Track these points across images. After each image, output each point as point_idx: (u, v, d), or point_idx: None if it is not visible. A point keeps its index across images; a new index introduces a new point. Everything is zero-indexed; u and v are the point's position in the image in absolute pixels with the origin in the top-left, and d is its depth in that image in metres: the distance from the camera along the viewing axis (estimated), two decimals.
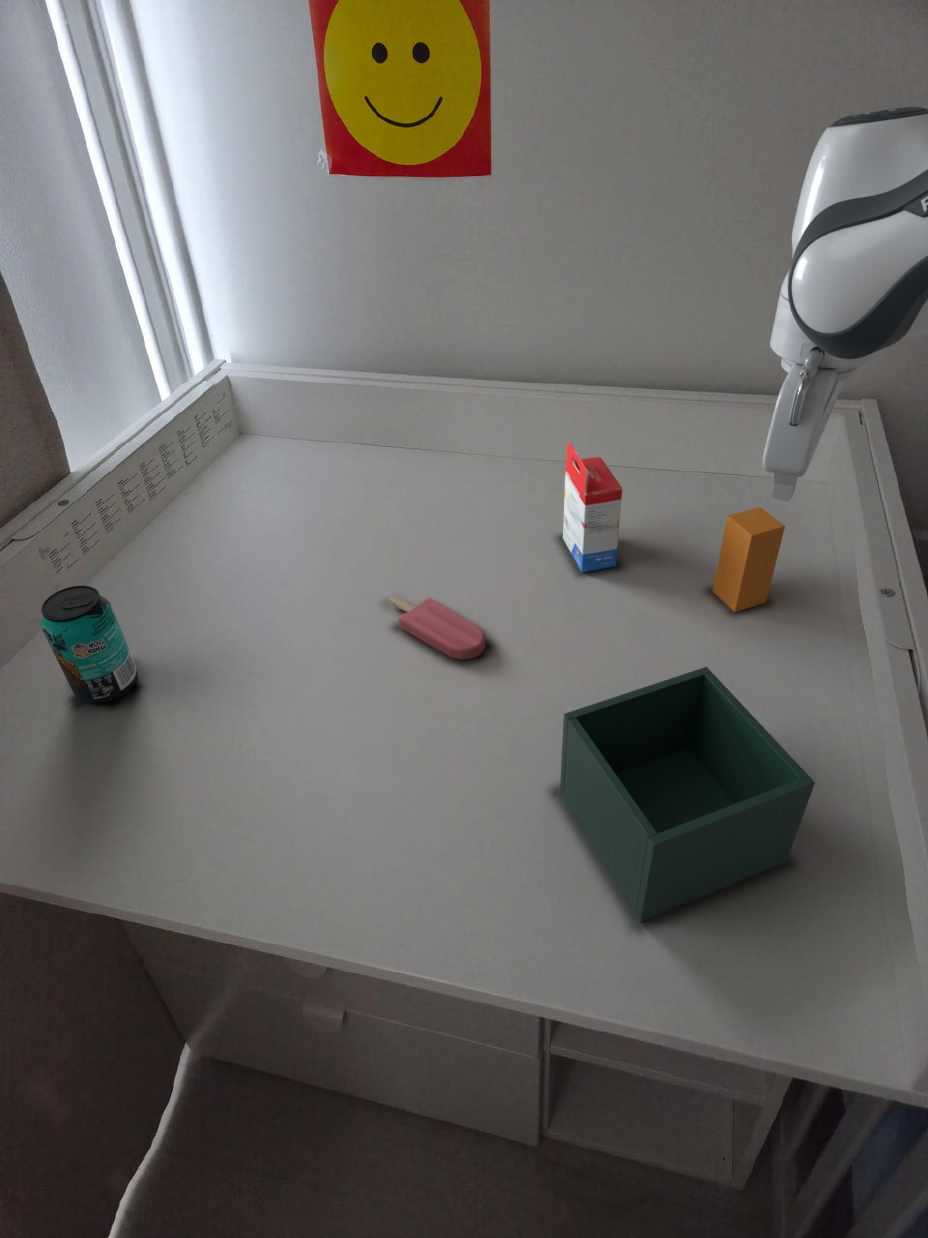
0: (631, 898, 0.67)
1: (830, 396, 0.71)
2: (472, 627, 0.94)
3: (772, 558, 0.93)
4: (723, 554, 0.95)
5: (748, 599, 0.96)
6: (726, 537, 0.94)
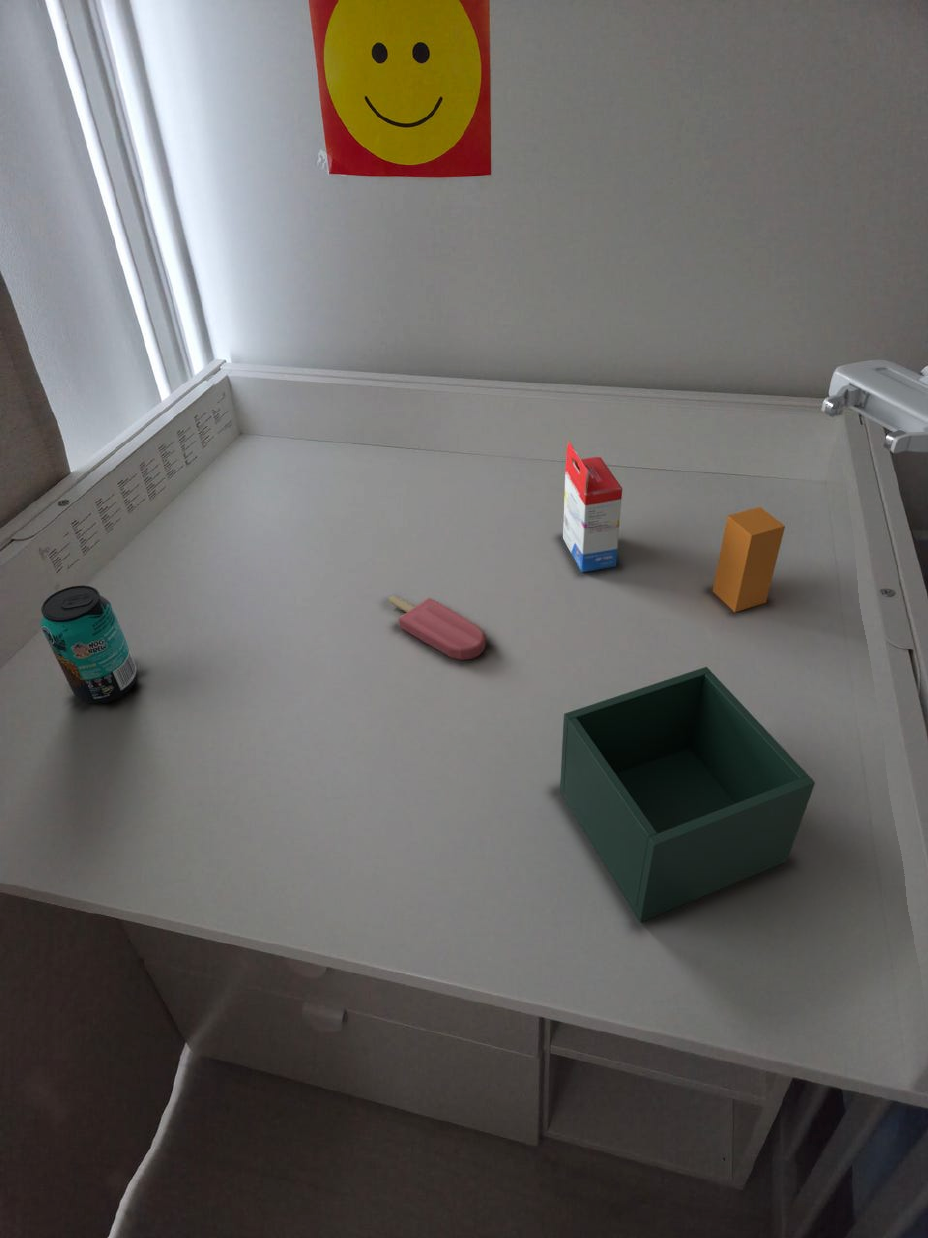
0: (631, 898, 0.67)
1: (913, 389, 0.91)
2: (472, 627, 0.94)
3: (772, 558, 0.93)
4: (723, 554, 0.95)
5: (748, 599, 0.96)
6: (726, 537, 0.94)
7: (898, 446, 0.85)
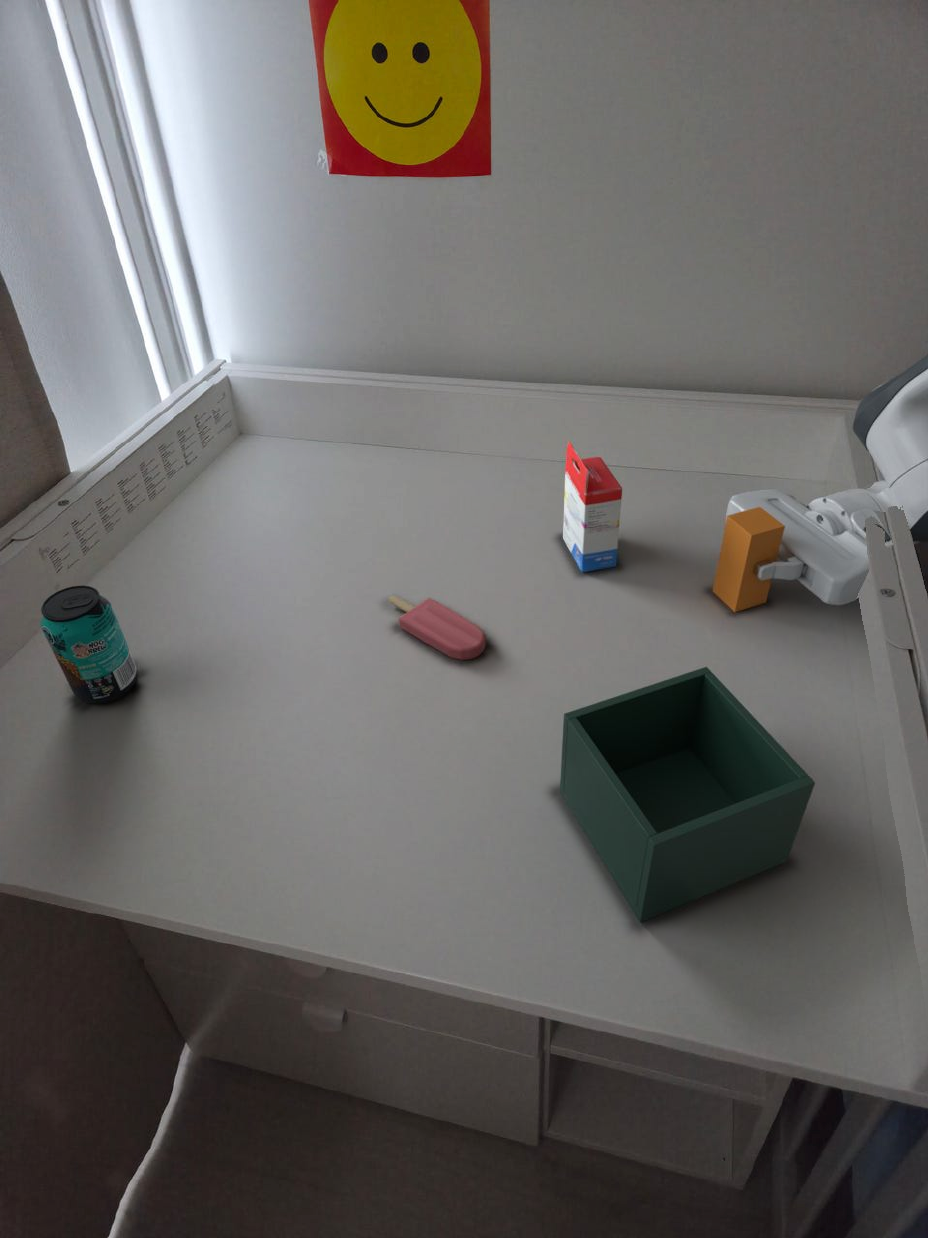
0: (631, 898, 0.67)
1: (798, 524, 0.97)
2: (472, 627, 0.94)
3: (772, 558, 0.93)
4: (723, 554, 0.96)
5: (748, 599, 0.96)
6: (726, 537, 0.94)
7: (764, 574, 0.92)
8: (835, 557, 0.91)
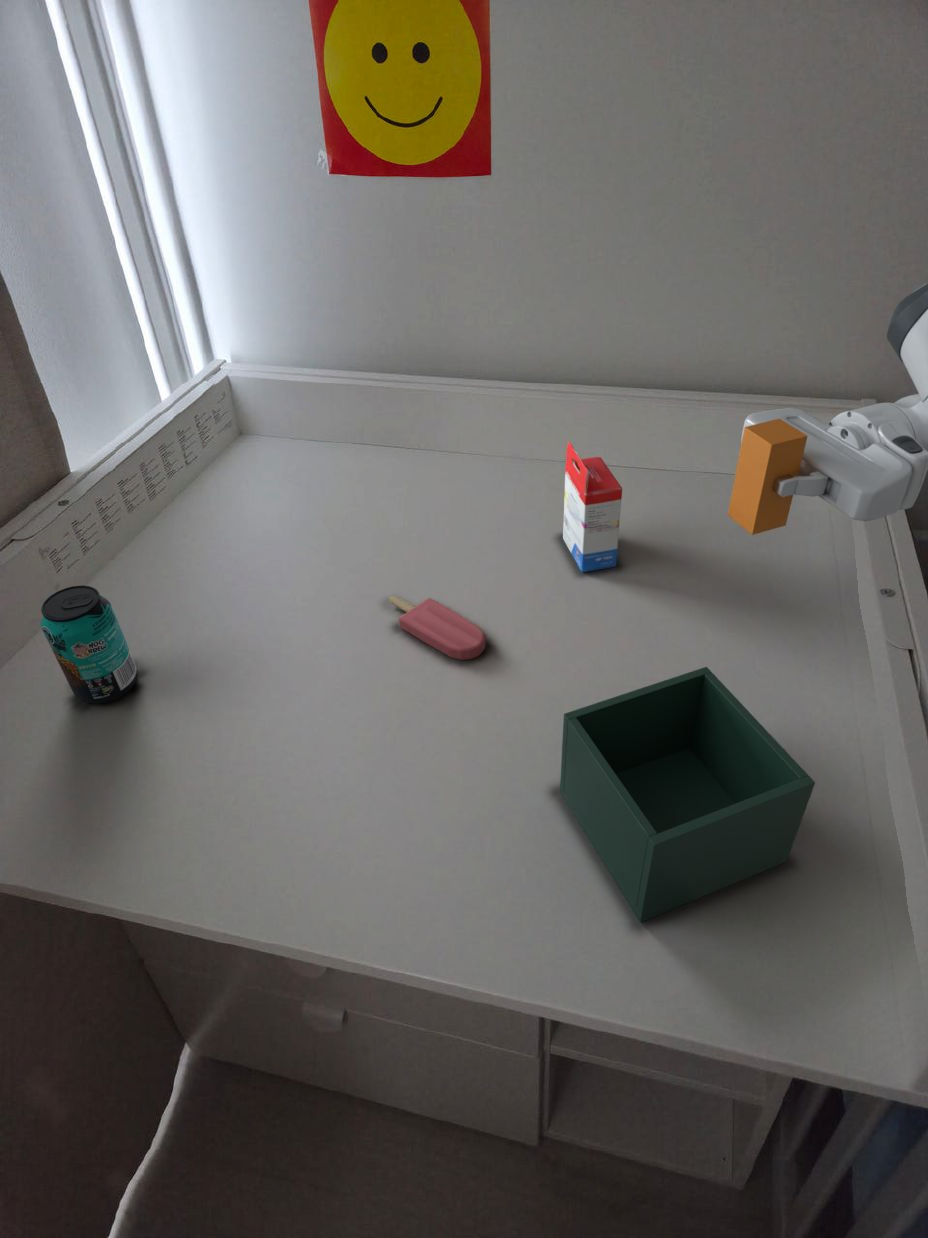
0: (631, 898, 0.67)
1: (820, 439, 0.90)
2: (472, 627, 0.94)
3: (793, 473, 0.86)
4: (740, 472, 0.88)
5: (767, 520, 0.89)
6: (743, 451, 0.87)
7: (785, 490, 0.85)
8: (862, 470, 0.84)
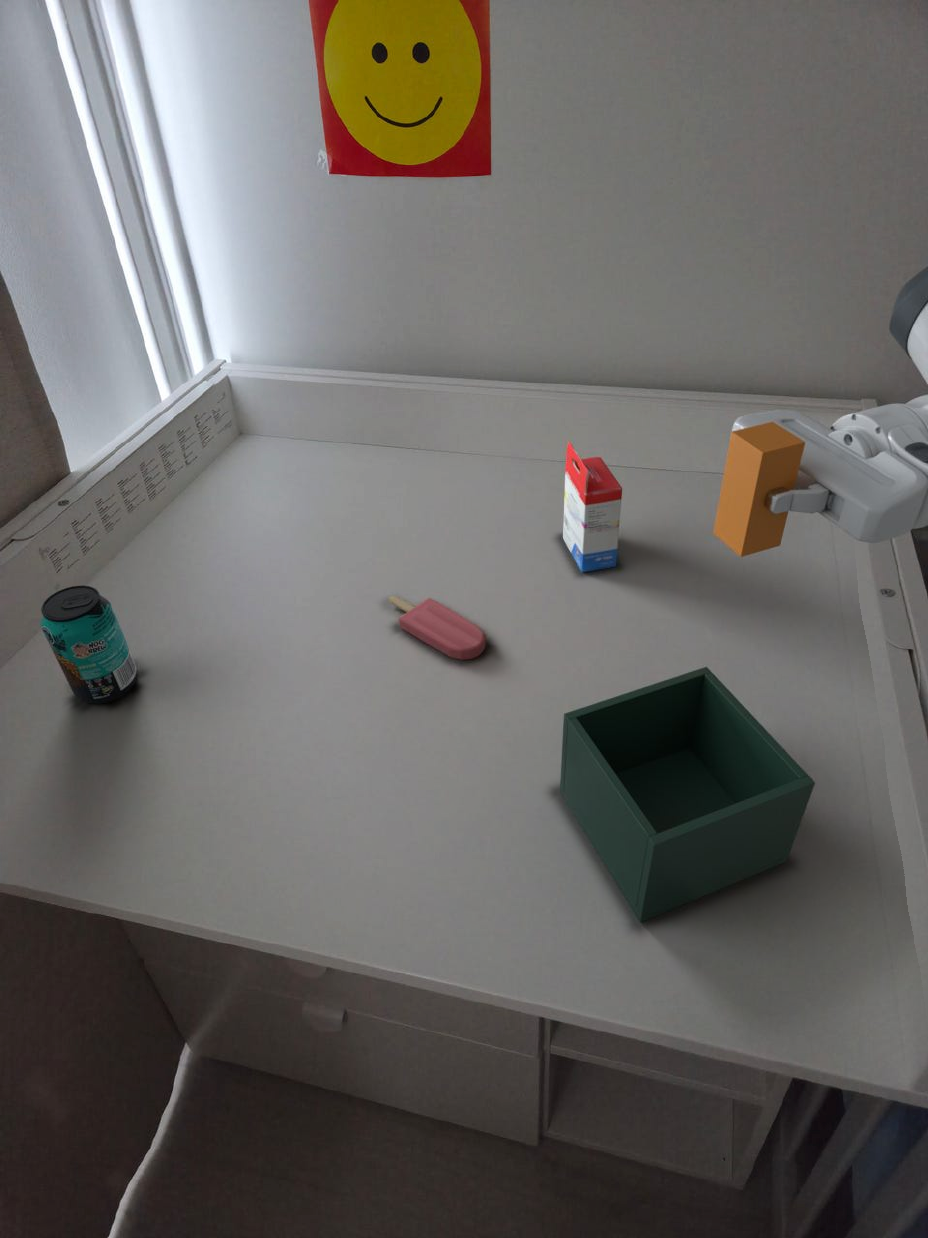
0: (631, 898, 0.67)
1: None
2: (472, 627, 0.94)
3: (788, 486, 0.74)
4: (726, 484, 0.76)
5: (758, 540, 0.76)
6: (730, 460, 0.74)
7: (779, 506, 0.73)
8: (870, 483, 0.71)
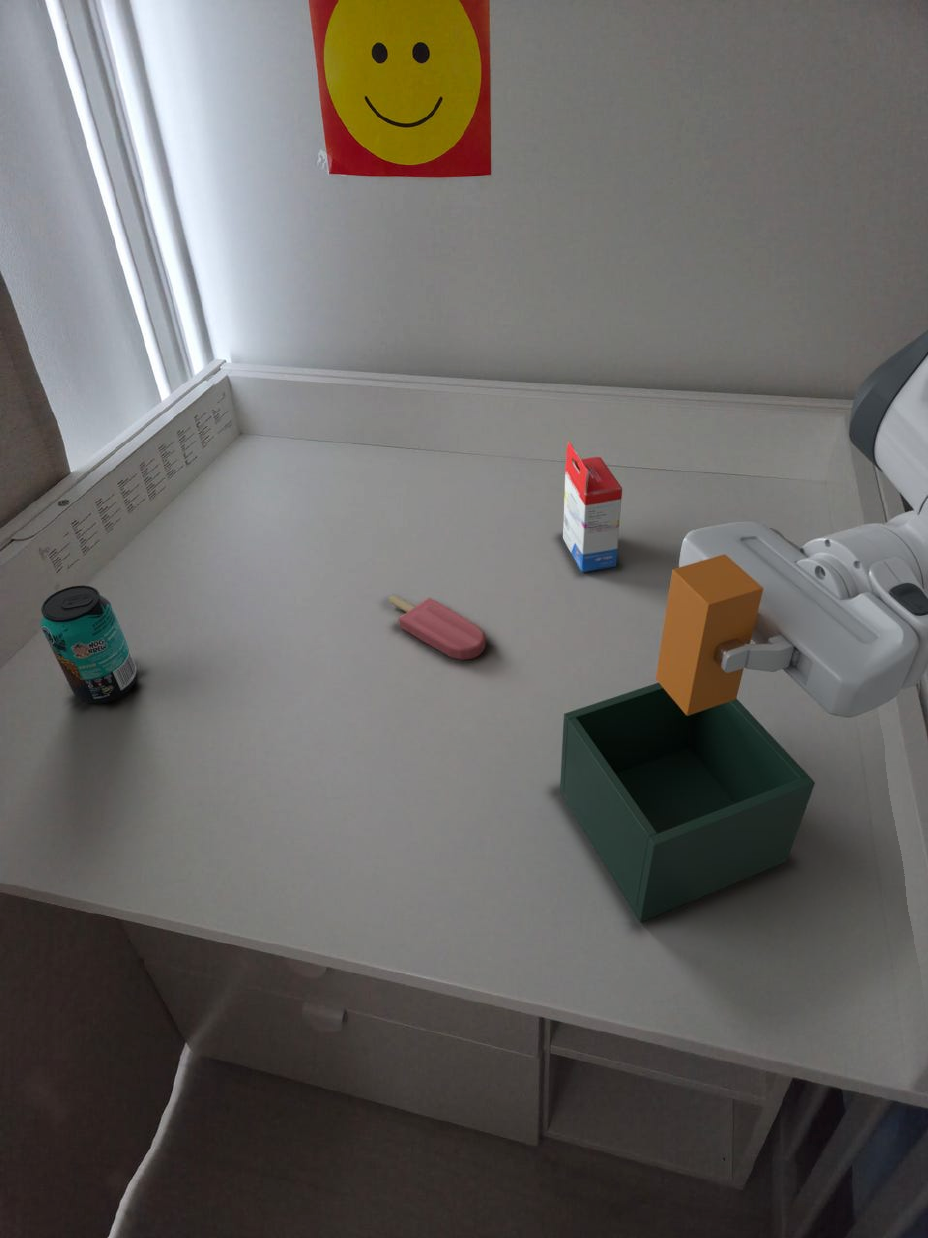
0: (631, 898, 0.67)
1: (786, 579, 0.62)
2: (472, 627, 0.94)
3: (743, 637, 0.59)
4: (668, 628, 0.61)
5: (708, 696, 0.62)
6: (672, 602, 0.60)
7: (731, 664, 0.58)
8: (845, 639, 0.57)
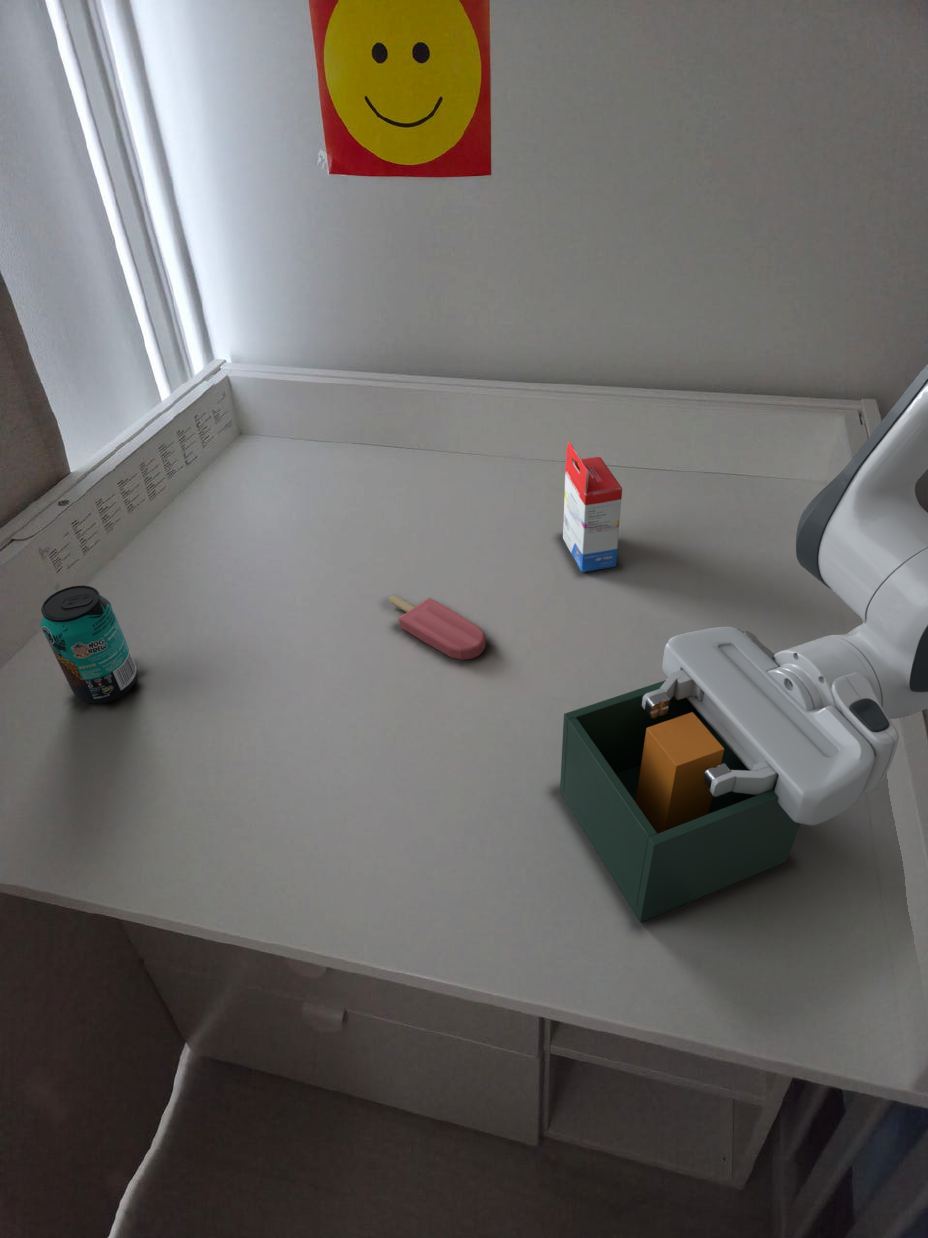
0: (631, 898, 0.67)
1: (758, 689, 0.68)
2: (472, 627, 0.94)
3: None
4: (644, 773, 0.70)
5: None
6: (646, 753, 0.69)
7: (719, 789, 0.63)
8: (809, 753, 0.63)
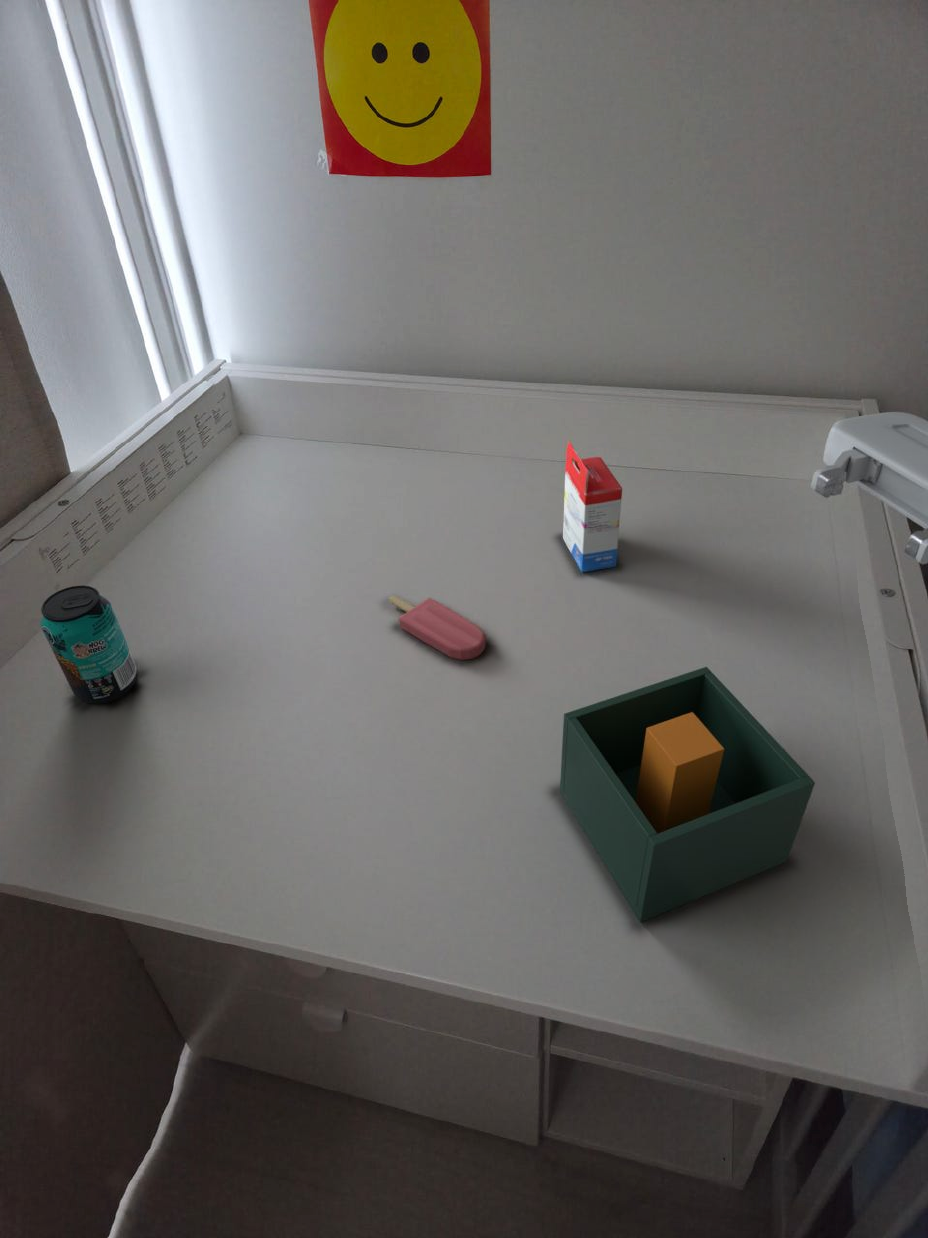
0: (631, 898, 0.67)
1: None
2: (472, 627, 0.94)
3: (708, 785, 0.68)
4: (644, 773, 0.70)
5: None
6: (646, 753, 0.69)
7: None
8: None
